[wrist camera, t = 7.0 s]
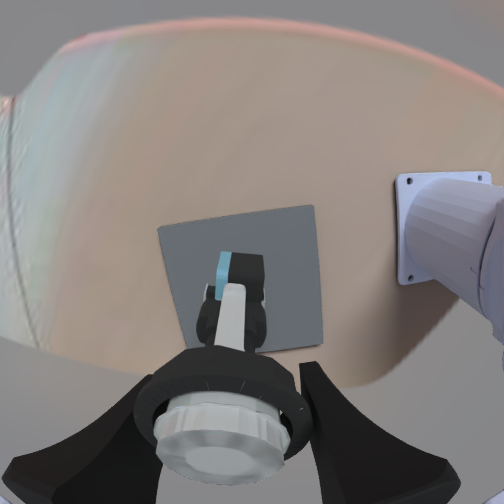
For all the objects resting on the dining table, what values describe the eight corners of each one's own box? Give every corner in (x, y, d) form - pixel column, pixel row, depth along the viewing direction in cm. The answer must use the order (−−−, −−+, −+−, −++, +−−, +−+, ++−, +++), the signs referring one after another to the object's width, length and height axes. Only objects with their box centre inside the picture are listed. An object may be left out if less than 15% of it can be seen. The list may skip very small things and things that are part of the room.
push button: (274, 352, 17) (288, 505, 8) (186, 344, 17) (148, 493, 8) (292, 249, 15) (343, 409, 6) (186, 239, 15) (103, 387, 6)
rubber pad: (311, 204, 19) (313, 206, 18) (321, 337, 22) (323, 343, 21) (161, 226, 19) (157, 228, 19) (192, 352, 22) (190, 358, 21)
